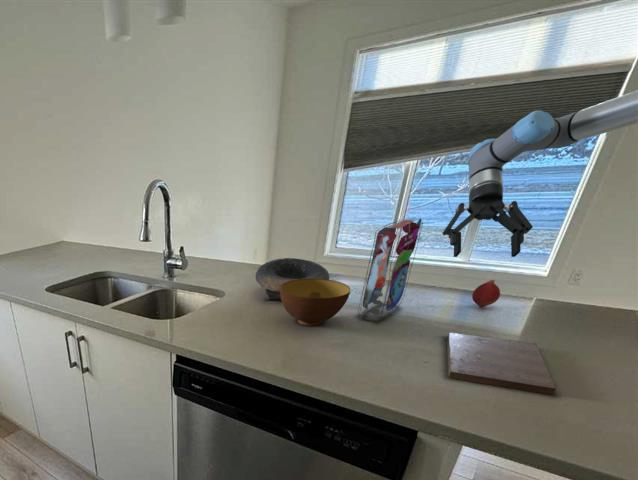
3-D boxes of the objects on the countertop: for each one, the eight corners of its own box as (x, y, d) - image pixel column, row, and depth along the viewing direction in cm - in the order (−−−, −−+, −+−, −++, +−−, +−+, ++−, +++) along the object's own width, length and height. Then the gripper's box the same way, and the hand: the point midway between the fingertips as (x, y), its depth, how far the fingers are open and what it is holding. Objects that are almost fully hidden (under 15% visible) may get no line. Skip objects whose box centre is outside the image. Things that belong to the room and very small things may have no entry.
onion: (468, 309, 114) (478, 281, 110) (468, 302, 118) (477, 275, 114) (495, 312, 111) (506, 283, 107) (493, 305, 115) (504, 277, 111)
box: (390, 295, 128) (411, 213, 116) (412, 299, 124) (436, 214, 112) (355, 318, 115) (375, 228, 102) (379, 323, 110) (402, 230, 98)
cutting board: (552, 395, 76) (556, 388, 75) (448, 377, 84) (450, 371, 84) (533, 349, 92) (536, 343, 91) (446, 338, 100) (448, 332, 99)
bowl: (319, 307, 124) (325, 275, 119) (357, 328, 109) (365, 292, 104) (266, 315, 122) (269, 283, 117) (297, 337, 107) (302, 301, 102)
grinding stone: (239, 300, 139) (242, 272, 133) (277, 275, 151) (281, 249, 145) (303, 320, 125) (309, 290, 119) (339, 291, 138) (346, 263, 131)
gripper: (530, 197, 118) (533, 261, 114) (430, 201, 127) (429, 261, 122) (547, 178, 111) (551, 246, 107) (440, 184, 120) (439, 247, 115)
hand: (486, 254), depth 115 cm, fingers open, 13 cm apart
